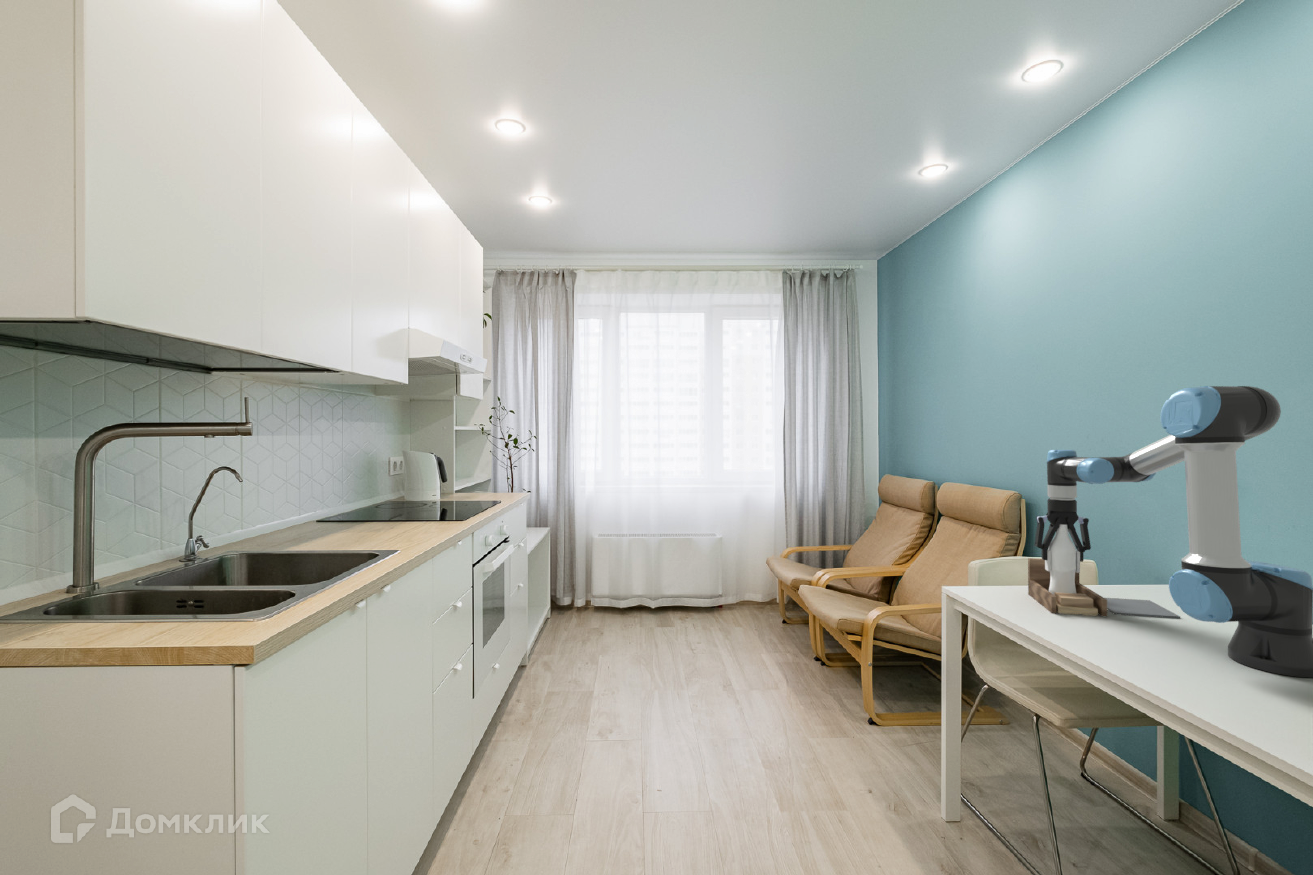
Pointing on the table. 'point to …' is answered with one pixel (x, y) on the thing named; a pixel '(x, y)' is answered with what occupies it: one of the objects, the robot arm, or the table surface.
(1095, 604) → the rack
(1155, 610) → the mat
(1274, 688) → the table surface
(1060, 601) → the offcut upper
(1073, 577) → the water bottle
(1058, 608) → the offcut lower
